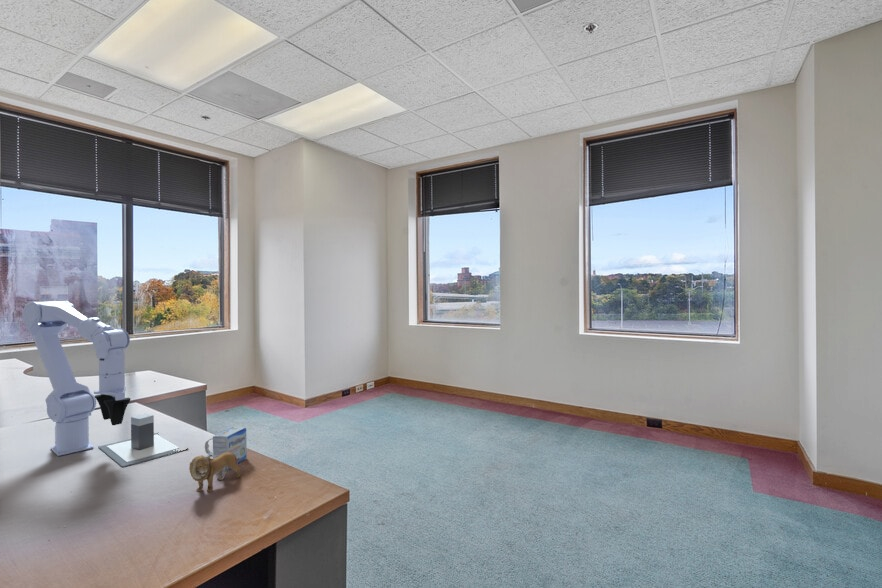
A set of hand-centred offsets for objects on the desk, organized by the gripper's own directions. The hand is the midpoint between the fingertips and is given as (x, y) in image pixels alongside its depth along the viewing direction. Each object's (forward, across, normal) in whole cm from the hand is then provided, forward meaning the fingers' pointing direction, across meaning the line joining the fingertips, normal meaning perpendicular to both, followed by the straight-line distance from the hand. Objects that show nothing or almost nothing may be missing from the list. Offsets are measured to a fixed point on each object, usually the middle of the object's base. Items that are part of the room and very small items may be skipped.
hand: (112, 421), depth 121 cm
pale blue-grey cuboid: (+9, +1, +7) cm, 11 cm away
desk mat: (+9, +1, +7) cm, 12 cm away
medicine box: (+10, +31, +18) cm, 37 cm away
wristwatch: (+10, +22, +18) cm, 30 cm away
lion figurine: (+10, +42, +10) cm, 44 cm away
